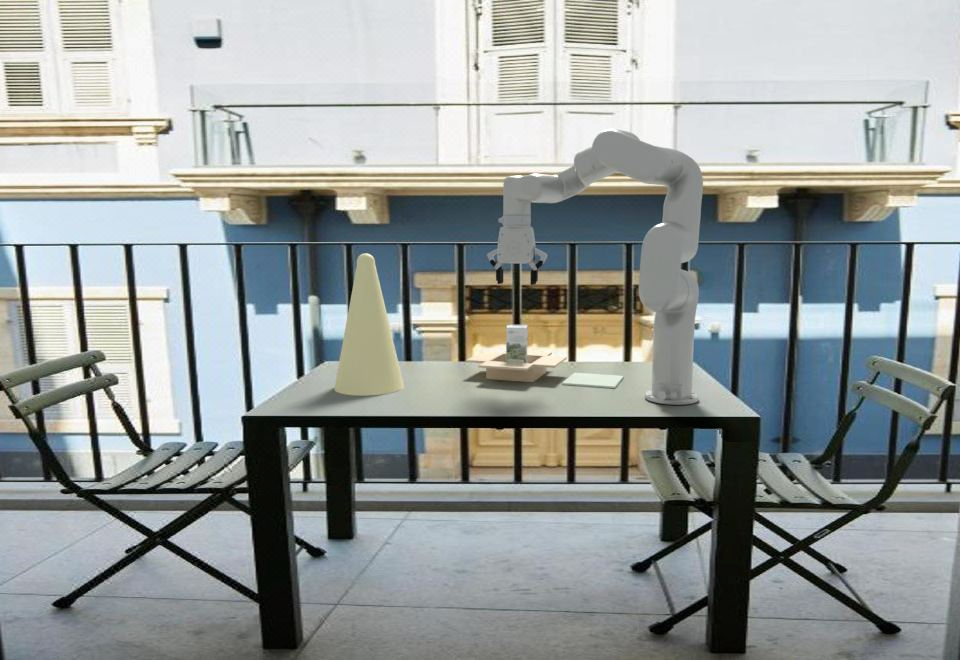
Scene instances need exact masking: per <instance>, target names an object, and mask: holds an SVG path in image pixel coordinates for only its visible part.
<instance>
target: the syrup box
mask: <svg viewBox="0 0 960 660" xmlns="http://www.w3.org/2000/svg"><path fill="white" fill-rule="evenodd" d="M528 327H529V326H528V324H507V325H506V328H505V329H506V330H505V334H506V337H505V338H506V339H505V341H506V342H505V351H506V362H515V363H527V351H528V336H529V335H528V333H529V332H528Z"/></svg>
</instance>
